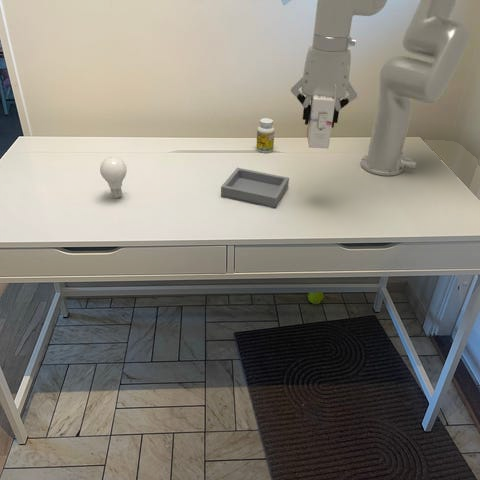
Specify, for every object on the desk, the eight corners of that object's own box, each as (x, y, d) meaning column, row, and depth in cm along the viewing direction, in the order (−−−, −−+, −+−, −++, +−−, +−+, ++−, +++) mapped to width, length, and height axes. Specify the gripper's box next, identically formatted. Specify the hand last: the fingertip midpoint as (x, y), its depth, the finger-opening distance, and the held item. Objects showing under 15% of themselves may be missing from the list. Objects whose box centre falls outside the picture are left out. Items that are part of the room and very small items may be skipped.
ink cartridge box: (305, 133, 118) (313, 73, 109) (325, 134, 118) (334, 74, 109) (307, 148, 111) (315, 85, 102) (328, 149, 111) (338, 86, 102)
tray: (288, 187, 130) (289, 177, 128) (275, 208, 120) (276, 198, 118) (236, 177, 133) (237, 167, 132) (220, 196, 124) (221, 186, 122)
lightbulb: (134, 194, 124) (130, 155, 117) (121, 205, 119) (116, 165, 113) (112, 189, 125) (107, 151, 119) (99, 200, 120) (93, 161, 114)
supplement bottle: (276, 150, 149) (279, 120, 144) (265, 154, 146) (267, 125, 141) (263, 144, 152) (265, 116, 147) (252, 149, 149) (254, 120, 144)
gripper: (370, 42, 103) (356, 122, 113) (292, 36, 105) (285, 114, 116) (371, 50, 97) (356, 134, 107) (288, 43, 99) (281, 126, 110)
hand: (319, 123), depth 112 cm, fingers closed on ink cartridge box, 5 cm apart
